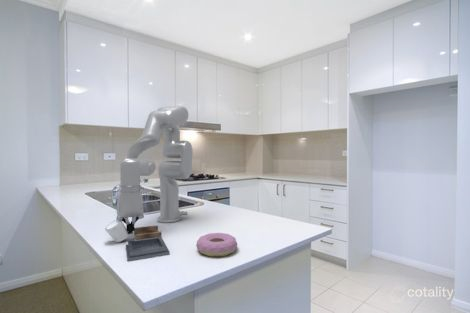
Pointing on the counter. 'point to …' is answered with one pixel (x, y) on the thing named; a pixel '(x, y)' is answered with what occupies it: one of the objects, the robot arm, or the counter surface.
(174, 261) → the counter surface
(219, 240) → the donut
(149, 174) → the robot arm
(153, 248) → the cradle
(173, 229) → the counter surface
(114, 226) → the white cup
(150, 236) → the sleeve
